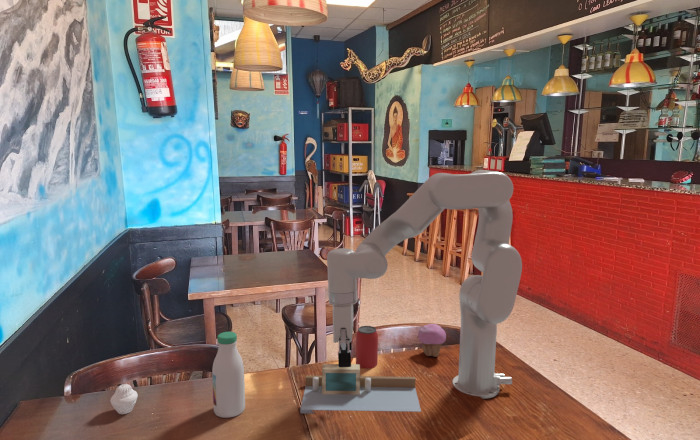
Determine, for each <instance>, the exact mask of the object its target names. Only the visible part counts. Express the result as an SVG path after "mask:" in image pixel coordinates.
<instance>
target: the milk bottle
mask: <svg viewBox="0 0 700 440" xmlns="http://www.w3.org/2000/svg"><path fill="white" fill-rule="evenodd" d="M237 335H238V334H237V333H236V332H234V331H224V332H220V333H219V334H218V335H217V339H216V340H217V346H218V349H217V352H216V356H215V357H214V360H213V364H212V372H211V374H212V379H211V380H212V402H213V403H212V404H213V407H212V408H213V413H214V414H215V416H217V417H218V418H224V419H225V418H226V419H228V418H229V419H231V418H234V417H238V416H240V415H241V414H242V413H243V412H244V410H245V409H246V392H245V391H246V390H245V389H246V386H245V367H244V362H243V358H242V356H241V354H240V352H239V350H238V347H237V343H238V341H237V340H238V338H237Z"/></svg>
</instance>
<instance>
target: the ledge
mask: <svg viewBox="0 0 700 440" xmlns="http://www.w3.org/2000/svg"><path fill="white" fill-rule="evenodd" d="M299 410H300V414H306V415H307V414H310V415H311V414H314V415H315V414H316V412H314V411H343V412H344V411H347V412H348V411H350V412H352V411H353V412H360V411H361V412H416V413H418V412H420V413H421V412H422V410H421V405H420V401H419V397H418V393H417V390H416V376H378V375H377V376H376V375H375V376H373V375H372V376H371V375H368V376H367V375H360V395H358V394H322V375H305V387H304V392H303V397H302V402H301V405H300V409H299Z"/></svg>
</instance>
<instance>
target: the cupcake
mask: <svg viewBox="0 0 700 440" xmlns="http://www.w3.org/2000/svg"><path fill="white" fill-rule="evenodd" d="M417 338H418V340H419V342H420V343H421V344H422V351H423V354H424V355H425V356H426V357H434V358H436V357H439V355H440V351H441V347H442V345H443V343H445V342H446V340H447V334H446V330H444V329H443V328H442V327H441V326H440V325H438V324H436V323H428V324H425V325H422V327H421V328H419V329H418V332H417Z"/></svg>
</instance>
